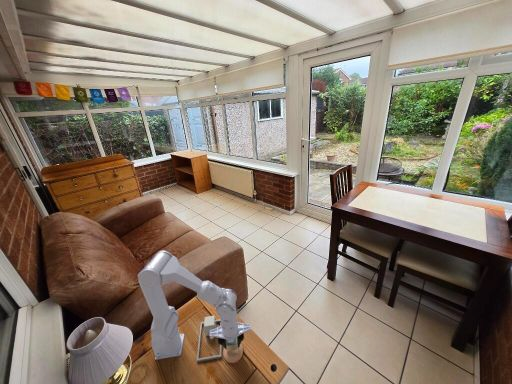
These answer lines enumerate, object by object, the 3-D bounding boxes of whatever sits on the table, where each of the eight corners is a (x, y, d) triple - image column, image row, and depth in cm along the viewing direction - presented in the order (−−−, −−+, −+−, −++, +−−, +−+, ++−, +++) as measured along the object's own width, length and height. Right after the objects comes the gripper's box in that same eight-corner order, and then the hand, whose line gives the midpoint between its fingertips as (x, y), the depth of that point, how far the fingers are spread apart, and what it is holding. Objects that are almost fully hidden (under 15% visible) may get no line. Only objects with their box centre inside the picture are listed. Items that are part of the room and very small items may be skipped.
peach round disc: (223, 365, 74) (223, 363, 74) (223, 343, 81) (223, 341, 81) (243, 361, 75) (243, 359, 75) (242, 339, 82) (242, 338, 82)
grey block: (205, 336, 84) (203, 326, 82) (206, 326, 88) (204, 317, 85) (215, 334, 84) (214, 324, 82) (216, 325, 88) (214, 315, 86)
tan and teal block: (227, 356, 75) (226, 346, 73) (227, 344, 79) (226, 335, 77) (238, 354, 76) (237, 344, 73) (237, 343, 79) (236, 333, 77)
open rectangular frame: (196, 362, 75) (196, 360, 75) (201, 323, 89) (200, 322, 88) (221, 357, 76) (221, 356, 76) (222, 320, 90) (221, 319, 89)
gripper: (207, 336, 67) (212, 361, 72) (251, 329, 68) (252, 353, 74) (208, 316, 73) (213, 340, 78) (248, 310, 75) (250, 334, 80)
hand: (232, 345), depth 77 cm, fingers closed on tan and teal block, 4 cm apart
